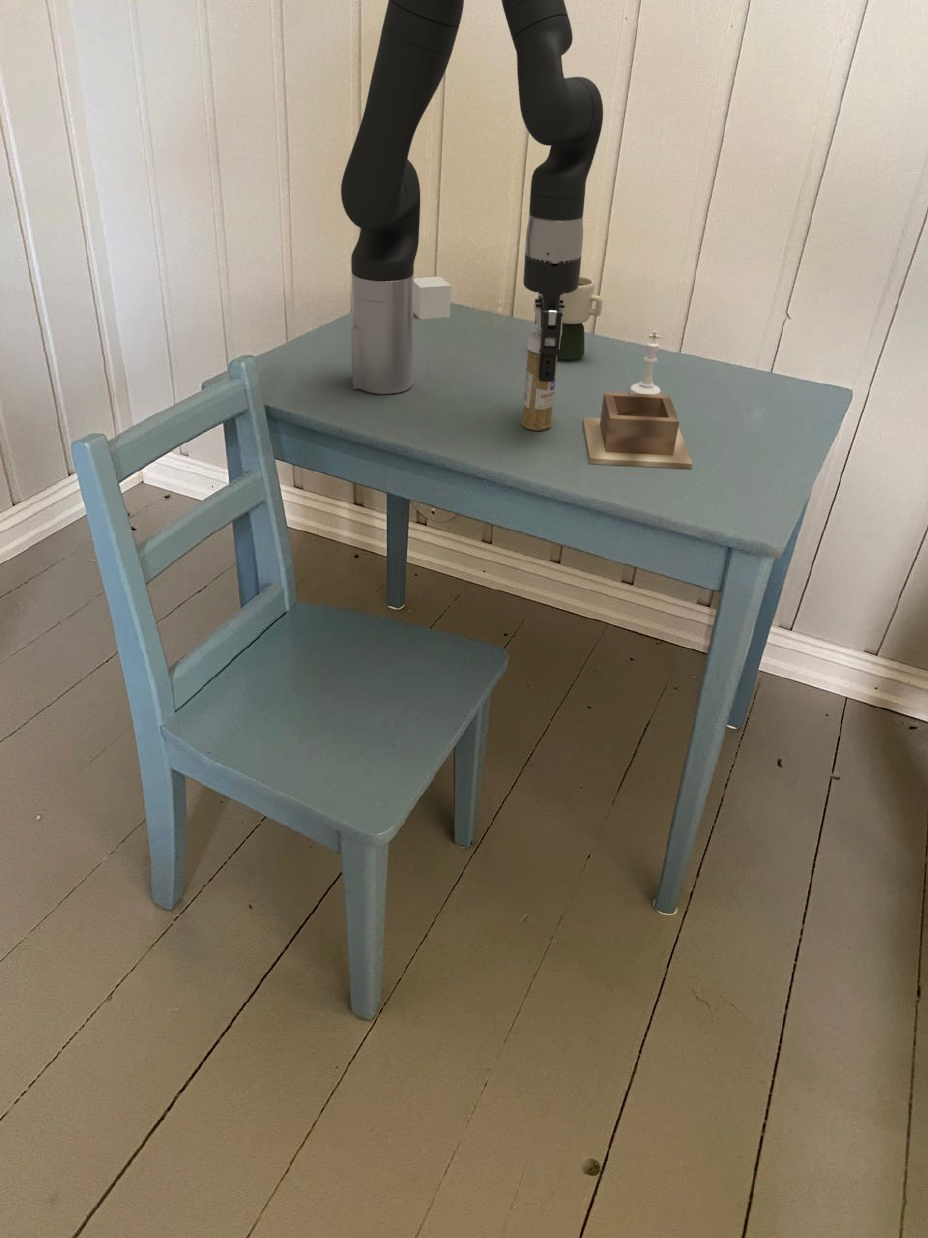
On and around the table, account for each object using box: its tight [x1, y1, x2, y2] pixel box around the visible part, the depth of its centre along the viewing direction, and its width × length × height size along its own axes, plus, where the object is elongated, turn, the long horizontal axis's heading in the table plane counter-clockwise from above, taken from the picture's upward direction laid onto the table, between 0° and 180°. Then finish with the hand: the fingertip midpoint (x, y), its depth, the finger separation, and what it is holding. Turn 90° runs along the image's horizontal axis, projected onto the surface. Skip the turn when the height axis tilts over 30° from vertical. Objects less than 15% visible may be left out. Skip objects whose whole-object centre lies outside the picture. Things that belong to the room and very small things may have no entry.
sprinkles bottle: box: [521, 331, 560, 431], centre depth 133 cm, size 5×5×14 cm
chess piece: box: [629, 330, 662, 395], centre depth 147 cm, size 5×5×10 cm
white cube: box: [413, 276, 452, 320], centre depth 176 cm, size 6×6×6 cm
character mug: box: [557, 274, 603, 360], centre depth 158 cm, size 11×7×13 cm, turn 61°
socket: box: [582, 391, 693, 470], centre depth 131 cm, size 14×14×6 cm
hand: (544, 369), depth 132 cm, fingers open, 8 cm apart
